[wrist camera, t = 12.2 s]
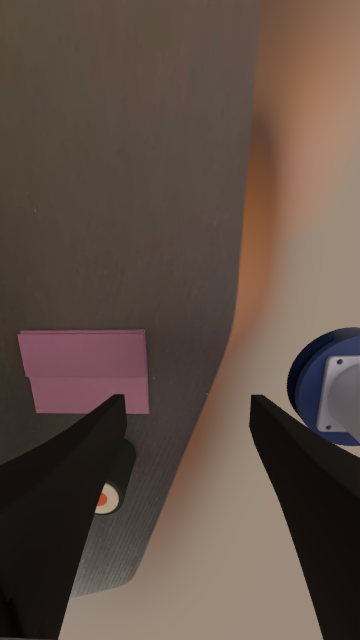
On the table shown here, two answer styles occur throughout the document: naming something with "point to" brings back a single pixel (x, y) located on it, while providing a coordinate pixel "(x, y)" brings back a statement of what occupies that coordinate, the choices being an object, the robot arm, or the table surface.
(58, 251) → the table surface
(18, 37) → the table surface
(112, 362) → the napkin
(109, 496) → the sushi roll
